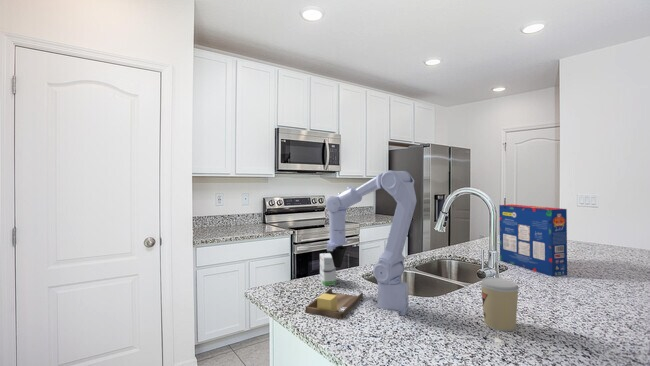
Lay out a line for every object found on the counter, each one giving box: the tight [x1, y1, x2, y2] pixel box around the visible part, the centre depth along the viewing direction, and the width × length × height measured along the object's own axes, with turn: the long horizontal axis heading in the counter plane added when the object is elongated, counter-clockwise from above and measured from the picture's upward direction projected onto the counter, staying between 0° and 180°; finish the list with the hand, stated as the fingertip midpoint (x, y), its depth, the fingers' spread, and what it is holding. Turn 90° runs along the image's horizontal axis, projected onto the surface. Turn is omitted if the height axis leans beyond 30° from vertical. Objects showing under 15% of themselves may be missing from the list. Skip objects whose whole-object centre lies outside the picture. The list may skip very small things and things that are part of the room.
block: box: [316, 292, 337, 311], centre depth 98 cm, size 4×4×4 cm
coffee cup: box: [480, 277, 520, 332], centre depth 90 cm, size 9×9×12 cm
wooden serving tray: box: [304, 287, 364, 320], centre depth 104 cm, size 12×19×3 cm, turn 155°
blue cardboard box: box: [498, 204, 568, 277], centre depth 148 cm, size 28×8×28 cm, turn 14°
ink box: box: [319, 252, 337, 287], centre depth 127 cm, size 9×5×12 cm, turn 12°
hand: (337, 267), depth 116 cm, fingers closed
